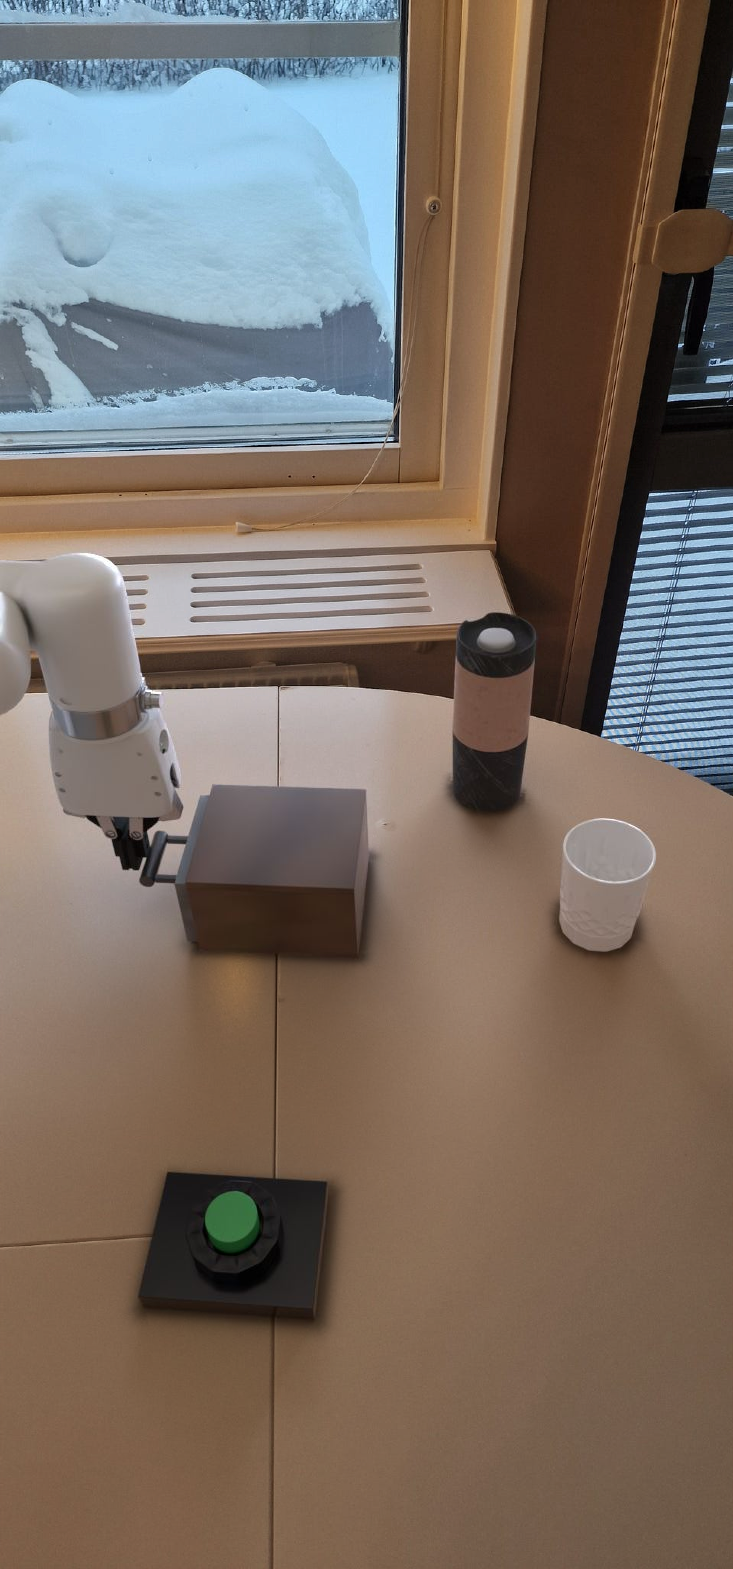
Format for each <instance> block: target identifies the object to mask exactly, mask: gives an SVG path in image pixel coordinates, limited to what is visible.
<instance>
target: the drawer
mask: <svg viewBox="0 0 733 1569" xmlns="http://www.w3.org/2000/svg"><path fill="white" fill-rule="evenodd" d="M209 796H210V794H208V795H207V794H200V795H199V798H198V801H197V805H196V808H195V812H194V815H193V819H192V822H191V826H190V828H189V833H188V835H172V834H171V835H169V834H168V833H167V832H166V831H165V830H156V831H155V832H154V834H153V836H152V840H151V843H150V850H149V853H148V856H147V858H145V860H144V864H143V867H142V870H141V873H140V877H139V879H138V882H139V884H140V885H141V886H142V887H146V888H151V887H153V886H154V885H155V883H156V884H174V888H175V892H176V897H177V901H178V906H179V910H180V911H179V912H180V914H181V920H182V923H183V924H182V925H183V927H184V932H185V936H186V940H187V942H198V940H197V935H196V931H195V926H194V921H193V917H192V912H191V907H190V903H189V898H188V894H187V889H186V885H185V880H186V877H187V873H188V870H189V866H190V863H191V859H192V856H193V852H194V849H195V845H196V842H197V838H198V834H199V831H200V827H201V824H202V820H203V817H204V813H205V810H206V806H207V803H208V799H209ZM167 844H168V845H185V846H184V849H183V853H182V856H181V859H180V863H179V867H178V870H177V874H167V873H166V874H165V873H164V874H163V873H158V872H159V870H160V868H161V867H160V866H161V865H162V860H163V858H164V854H165V851H166V847H167Z"/></svg>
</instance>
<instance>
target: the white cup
mask: <svg viewBox="0 0 733 1569" xmlns="http://www.w3.org/2000/svg"><path fill="white" fill-rule="evenodd" d="M561 856H562V857H561V858H562V859H561V870H560V881H559V882H560V883H559V885H560V889H559V890H560V891H559V916H558V917H559V918H558V921H559V925H560V927H561V930H562V933H563V934H564V935H565V937H567V939H568V940H570V941H571V943H572V944H574V945H575V946H578V947H580V948H583V949H585V950H587V951H590V952H591V951H593V952H604V953H605V952H610V951H613V950H616V949H620V948H622V947H623V946H624V945H626V943H627V942H629V940H631V939H632V936H633V932H634V928H635V925H636V922H637V919H638V918H639V916H640V914H641V911H642V907H643V905H644V901H645V899H646V896H647V891H648V888H649V886H650V881H651V878H652V874H653V872H654V868H655V864H656V861H657V852H656V847H655V846H654V844H653V842H652V840H651V839H650V838H649V837H648V835H647V834H646V833H645V832H643V831H642V830H641V829H639V828H638V827H636V826H635V825H633V824H630V823H628V822H625V821H622V820H619V819H612V818H593V819H588V820H585V821H582V822H580V823H578V824H576V825H575V826H573V827H572V828H571V829H570V830H569V831H568V832H567V833H566V835H565V837H564V840H563V842H562V855H561Z"/></svg>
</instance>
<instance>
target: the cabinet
mask: <svg viewBox="0 0 733 1569" xmlns="http://www.w3.org/2000/svg"><path fill="white" fill-rule="evenodd" d="M209 795H210V796H209V799H208V803H207V806H206V810H205V813H204V817H203V820H202V824H201V827H200V831H199V834H198V838H197V842H196V845H195V849H194V852H193V856H192V859H191V863H190V866H189V870H188V873H187V877H186V880H185V885H186V889H187V894H188V898H189V903H190V907H191V912H192V917H193V921H194V926H195V931H196V935H197V940H198V941H197V943H198V950H199V951H200V952H216V953H217V952H218V953H238V954H259V955H260V954H262V955H264V954H265V955H283V956H284V955H285V956H307V957H329V958H350V959H351V958H352V959H358V958H359V953H360V945H361V936H362V928H363V918H364V916H363V915H364V907H365V899H366V898H365V897H366V889H367V879H368V871H369V862H370V861H369V860H370V855H369V854H370V852H369V849H370V848H369V827H368V802H367V789H366V788H344V787H315V786H314V787H313V786H311V787H310V786H282V785H281V786H280V785H279V786H277V785H253V784H252V785H248V784H217V783H213V784H212V785H211V789H210V793H209Z"/></svg>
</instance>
